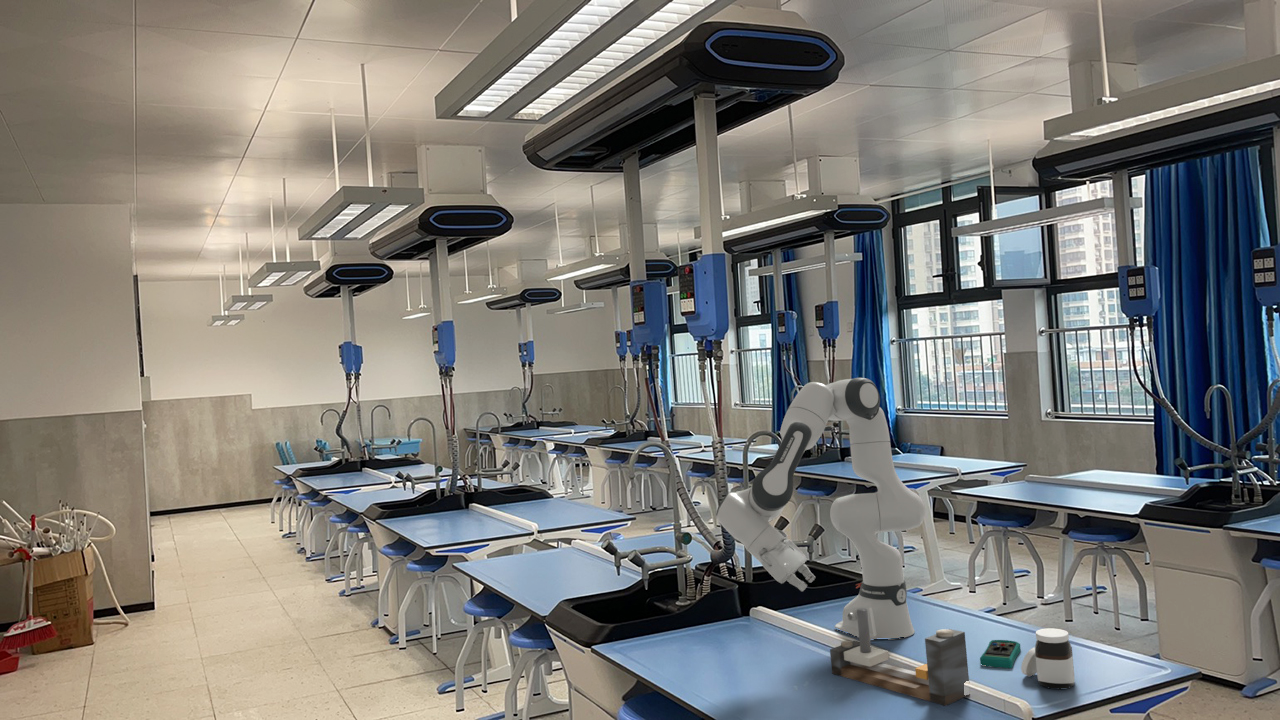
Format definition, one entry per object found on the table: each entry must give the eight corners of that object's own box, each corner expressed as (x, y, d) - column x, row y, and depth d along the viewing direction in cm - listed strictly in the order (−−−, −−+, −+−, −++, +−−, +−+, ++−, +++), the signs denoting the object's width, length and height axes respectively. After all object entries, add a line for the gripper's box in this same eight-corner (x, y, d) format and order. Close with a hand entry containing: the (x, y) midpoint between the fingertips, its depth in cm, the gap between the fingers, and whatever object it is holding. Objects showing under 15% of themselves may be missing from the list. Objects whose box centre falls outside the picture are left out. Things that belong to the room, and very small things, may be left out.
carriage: (844, 660, 228) (839, 610, 228) (863, 652, 232) (858, 604, 233) (869, 666, 222) (865, 615, 222) (888, 659, 226) (884, 609, 226)
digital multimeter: (1021, 651, 236) (1020, 640, 236) (1012, 670, 223) (1010, 658, 223) (991, 649, 239) (990, 638, 239) (980, 668, 227) (979, 656, 227)
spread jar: (1073, 693, 205) (1068, 640, 205) (1018, 688, 210) (1013, 637, 210) (1077, 675, 215) (1072, 624, 215) (1025, 671, 221) (1020, 622, 221)
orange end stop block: (916, 677, 212) (915, 668, 212) (929, 671, 215) (928, 662, 215) (927, 679, 210) (926, 671, 210) (940, 674, 213) (939, 665, 213)
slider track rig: (832, 673, 230) (826, 613, 231) (856, 664, 236) (851, 605, 236) (945, 705, 204) (939, 638, 204) (970, 694, 209) (964, 628, 209)
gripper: (764, 544, 226) (808, 584, 221) (785, 530, 244) (825, 567, 240) (748, 562, 227) (791, 603, 223) (770, 547, 246) (810, 584, 242)
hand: (809, 584), depth 232 cm, fingers open, 8 cm apart
